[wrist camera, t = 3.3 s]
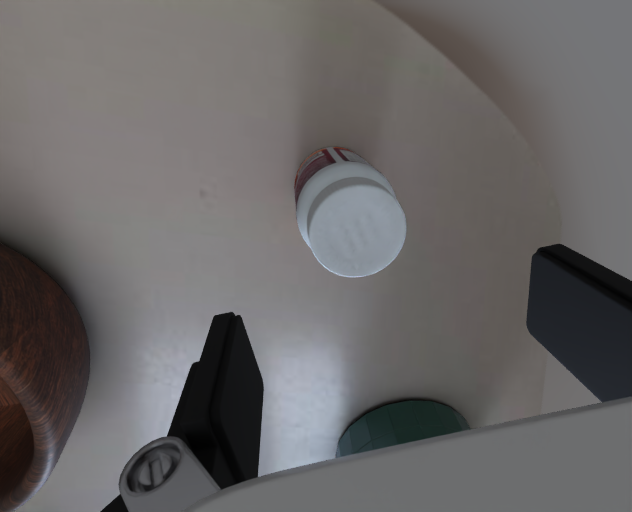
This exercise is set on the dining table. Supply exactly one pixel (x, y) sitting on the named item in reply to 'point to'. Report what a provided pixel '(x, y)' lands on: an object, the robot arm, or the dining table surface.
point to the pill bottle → (348, 213)
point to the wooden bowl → (36, 376)
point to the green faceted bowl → (400, 426)
